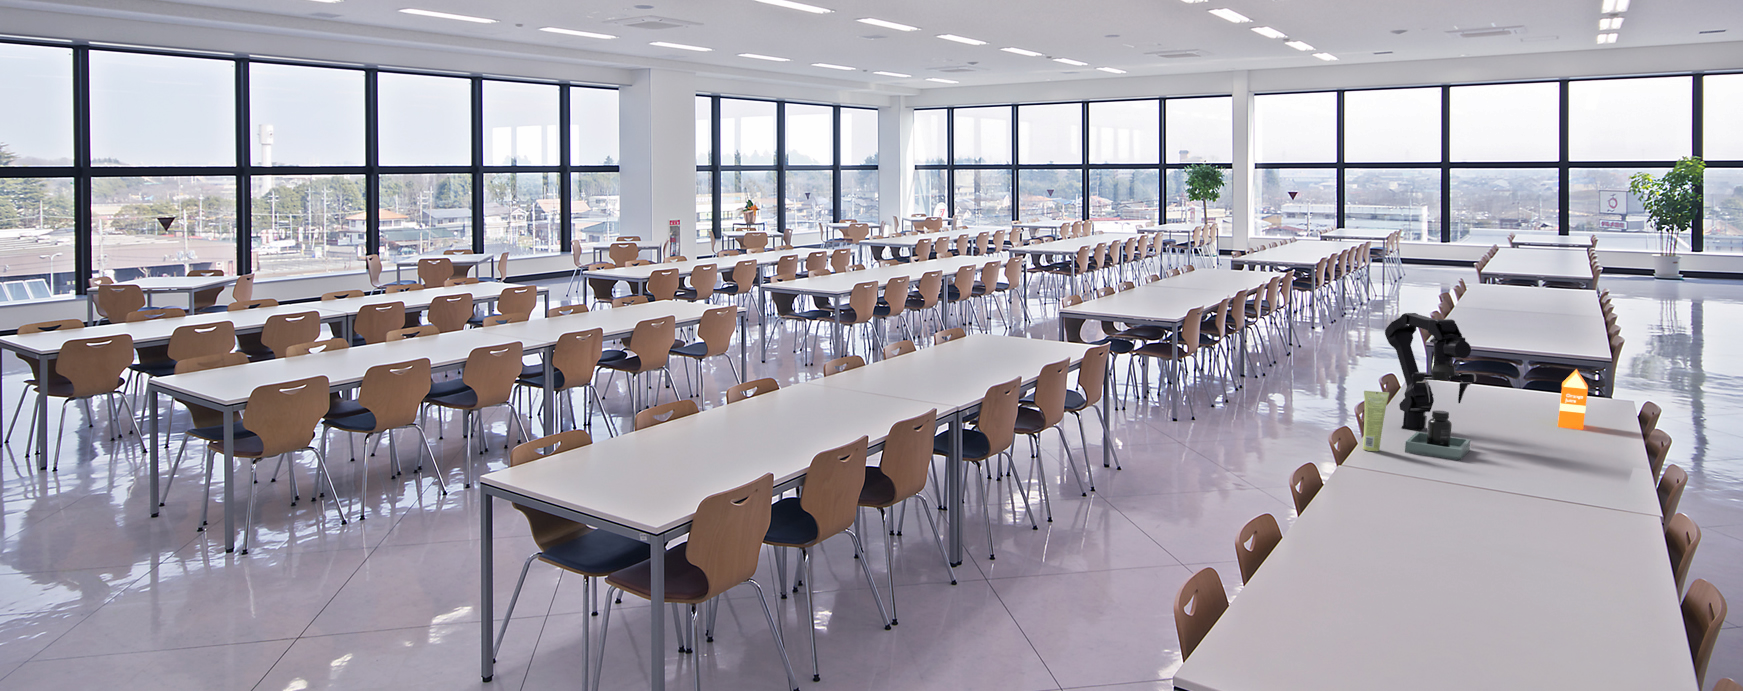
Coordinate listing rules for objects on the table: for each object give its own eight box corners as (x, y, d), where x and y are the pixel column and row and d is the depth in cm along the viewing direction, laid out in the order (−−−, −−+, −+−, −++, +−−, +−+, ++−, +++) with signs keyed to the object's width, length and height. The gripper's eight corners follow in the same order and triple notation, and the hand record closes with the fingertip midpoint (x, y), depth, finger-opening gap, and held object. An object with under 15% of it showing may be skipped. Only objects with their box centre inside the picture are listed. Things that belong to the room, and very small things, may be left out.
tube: (1371, 447, 356) (1376, 388, 352) (1384, 450, 351) (1389, 391, 348) (1359, 449, 353) (1363, 390, 350) (1372, 452, 349) (1377, 393, 345)
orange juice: (1583, 424, 386) (1589, 369, 383) (1583, 429, 379) (1590, 373, 376) (1557, 421, 391) (1563, 367, 387) (1557, 426, 383) (1563, 371, 380)
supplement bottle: (1449, 446, 353) (1452, 410, 351) (1450, 451, 347) (1453, 415, 344) (1425, 444, 356) (1429, 408, 354) (1425, 449, 350) (1429, 413, 347)
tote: (1404, 452, 350) (1405, 441, 349) (1415, 442, 362) (1416, 431, 362) (1460, 460, 340) (1461, 449, 339) (1469, 450, 352) (1470, 439, 352)
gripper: (1408, 358, 363) (1408, 404, 364) (1471, 358, 352) (1471, 406, 353) (1414, 356, 372) (1415, 401, 373) (1476, 356, 361) (1476, 402, 361)
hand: (1443, 402), depth 365 cm, fingers open, 9 cm apart
